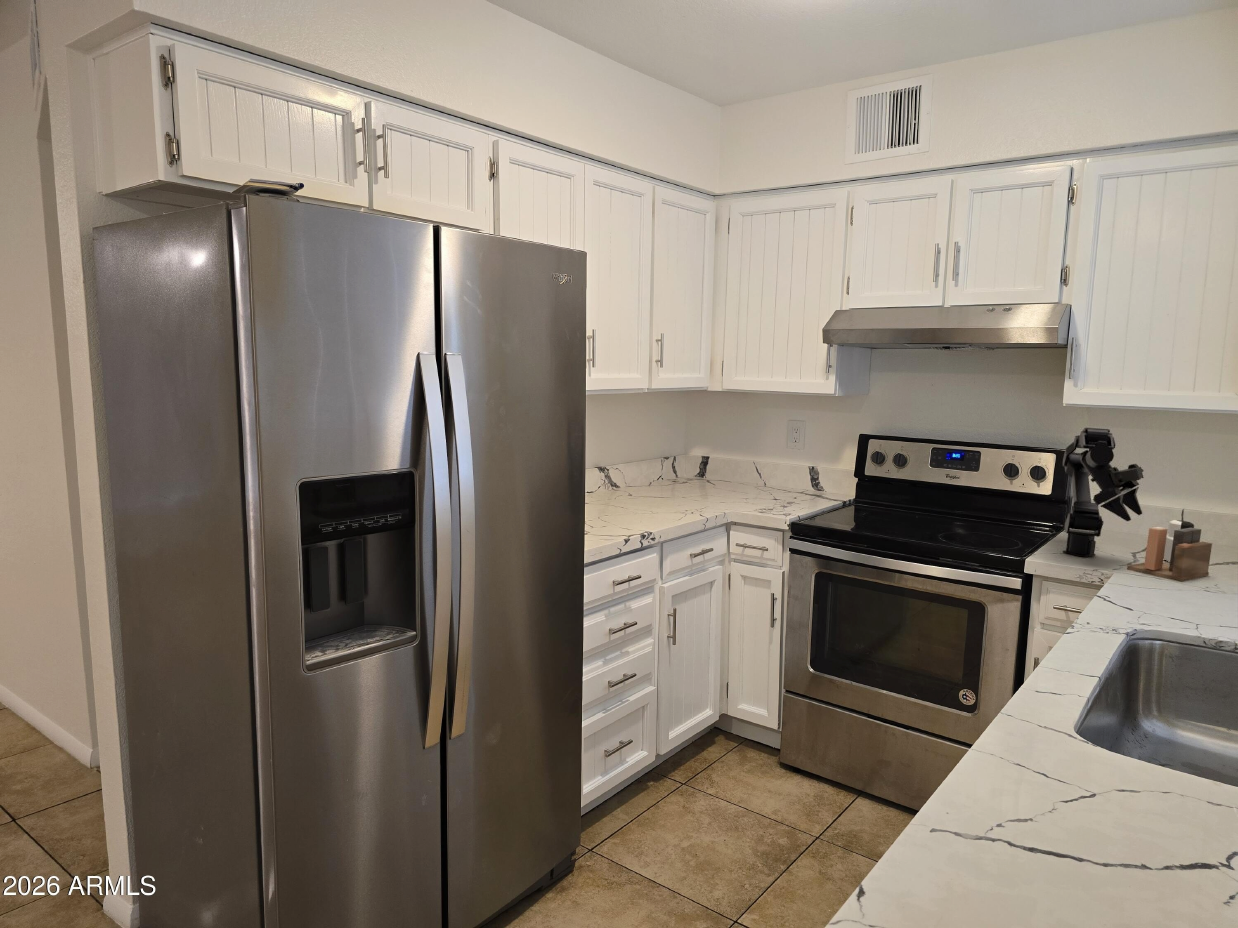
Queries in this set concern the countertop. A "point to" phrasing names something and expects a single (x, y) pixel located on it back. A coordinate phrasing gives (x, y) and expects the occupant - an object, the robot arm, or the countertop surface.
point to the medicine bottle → (1169, 539)
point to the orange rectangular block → (1155, 548)
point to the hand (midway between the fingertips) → (1135, 517)
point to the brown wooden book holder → (1183, 557)
